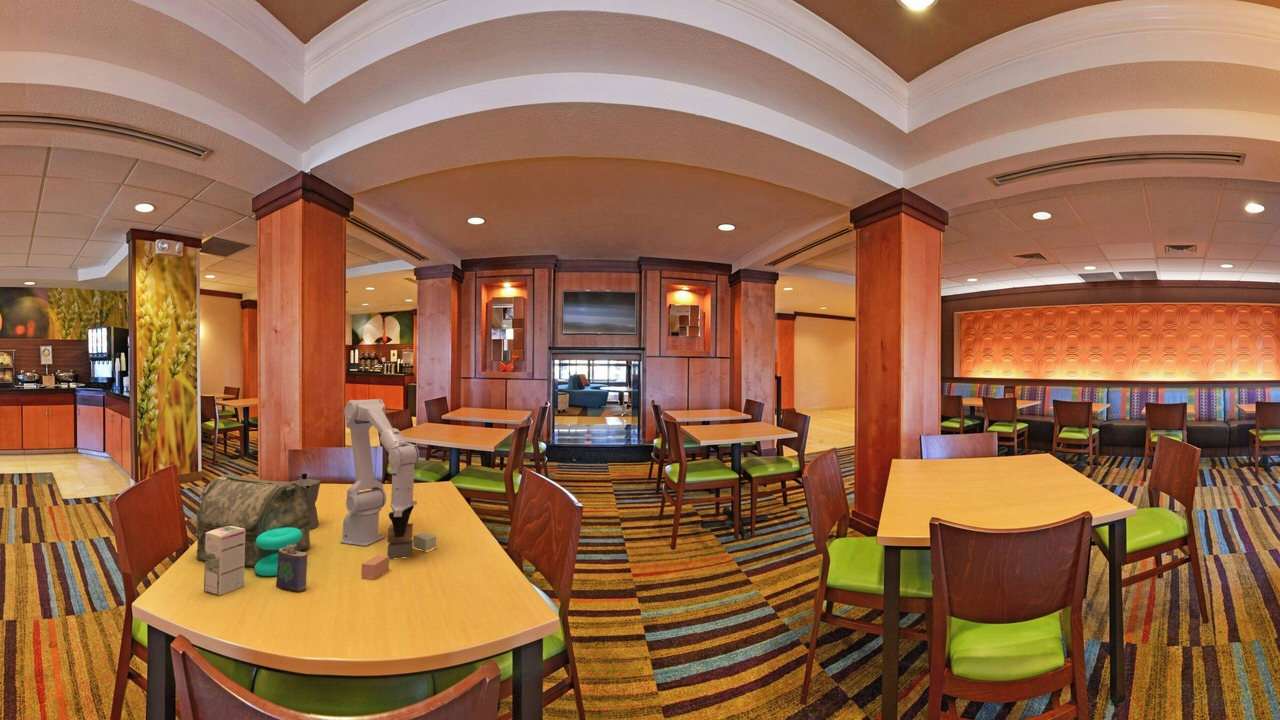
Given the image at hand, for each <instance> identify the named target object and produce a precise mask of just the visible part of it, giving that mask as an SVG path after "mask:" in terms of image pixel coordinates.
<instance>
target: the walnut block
mask: <svg viewBox="0 0 1280 720" xmlns="http://www.w3.org/2000/svg"><path fill="white" fill-rule="evenodd" d="M413 525H414V523H408V524H406V529H405V533H404V536H403V537H395V533H394V528H393V524H390V525H388V529H387V544H389V543H391V542H406V541H411V540H412V539H413V532H414V530H413V527H414V526H413Z"/></svg>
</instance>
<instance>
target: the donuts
mask: <svg viewBox="0 0 1280 720" xmlns="http://www.w3.org/2000/svg"><path fill="white" fill-rule="evenodd" d="M301 538H302V532H301V530H299V529H297V528H290V527H287V528H278V529H273V530H269V531H266V532H264V533H262V534H260V535H259V536H258V537H257V538H256V545H257V546H258V547H259V548H261V549H265V550H277V549H281V548H286V547H287V545H289V546H290V545H294V544H296V543H297V542H298V541H299V540H300V539H301ZM277 567H278V553H275V554H271V555H268V556H266V557H264V558H262V559H261V560H259V561H258V562H257V563H256V565H255V566H254V572H255V574H257V575H259V576H263V577H273V576H274V577H277Z"/></svg>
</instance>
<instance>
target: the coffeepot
mask: <svg viewBox="0 0 1280 720" xmlns="http://www.w3.org/2000/svg"><path fill="white" fill-rule="evenodd" d="M291 482H295V483H297V484H298V485H299V486H300V487H301V488H302V490H303V492H304V495H305V498H306V502H307V506H308V511H309V514H310V519H311V523H310V527H309V531H312V530H315V529H317V528H318V526H319V525H320V524H319V515H318V511H317V506H316V502H317V500H318V495H319V492H320V491H319V490H320V487H321V480H320V479H314V478H308V474H307V473H302V474H301V476H298V477H297V478H296V480H291Z"/></svg>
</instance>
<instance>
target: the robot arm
mask: <svg viewBox="0 0 1280 720" xmlns="http://www.w3.org/2000/svg"><path fill="white" fill-rule="evenodd" d="M343 411H344V412H343V413H344V421H345V427H346V428H347V429H350V441H351V448H352V449H351V450H352V457H353V459H352V460H353V468H354V477H355V482H354V483H353V484H352V485H351V486H350V487H349V488H348V489H347V491H346V500H345V506H346V510H347V514H346V515H345V516H344V517H343V521H342V540H340V541H339V542H340V543H341V544H347V545H355V546H362V547H367V546H369V545H371V544H375V543H376V542H378V541H381V540H382V539H384V538H385V535H382V534H381V535H380V534H379V518H380V512H381V511H382V509H383V508H384V506H385V505H386V503H387V494H386V492H385V488H384V484H383V482H381V481H379V480H377V479H376V478H375V475H374V474H375V473H374V465H373V463H374V462H373V457H372V455H373V454H372V448H371V447H372V446H371V440H370V439H371V437H370V430H371V427H374V428H375V429H376V431H377V432H378V433H379V434H380V436H379V441H380V442H381V444H382V445H383V447H384V448H385V449H384V450H386V451H387V453H388V456H387V457H388V459H387V460H388V463H389V466H390V467H389V470H390V472H391V473H392V475H391V477H392V478H391V495H390V496H391V497H390V503H389V507H390V509H392V511H390V512H389V514H388V518H389V519H390V521H391V523H392V524H391V525H393V528H394V533H395V537H403V536H404V533H405V529H406V524H409V520H410V517H411V514H412V511H413V509H414V507H415V506H416V505H418V501H417V500H414V486H415V483H414V480H415V465H416V464H417V463H418V461H419V460H420V451H419V449H418V447H417V445H416V444H414V443H413V444H412V443H411V442H408V441H407V439H406V438H405V437H404V435H403V434H402V433H401V431H400V430H399V429H398V428H394V427H393V426H392V425H391V423H390V421H389V418H387V415H386V405H385V402H384V401H383V400H382V399H381V398H376V399H372V398H371V399H350V400H348V401H347V403H346V404H345V407H344V410H343Z"/></svg>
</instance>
